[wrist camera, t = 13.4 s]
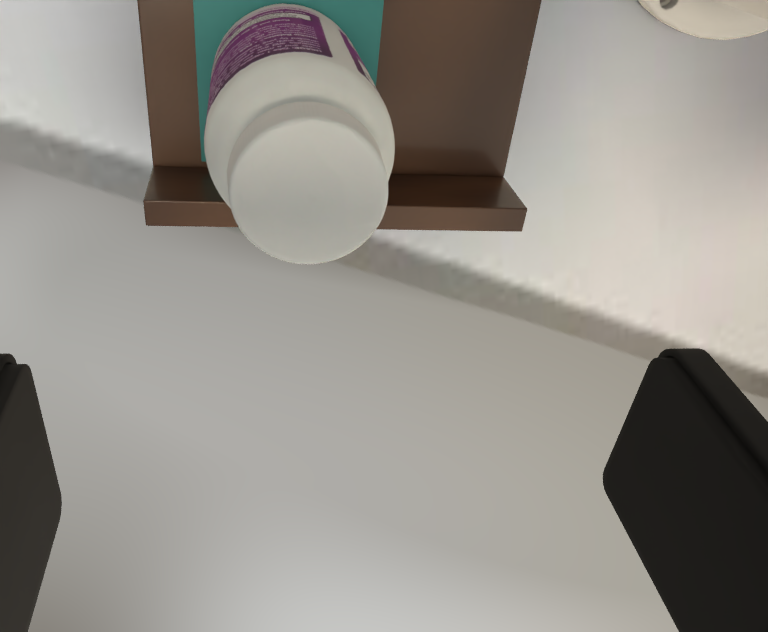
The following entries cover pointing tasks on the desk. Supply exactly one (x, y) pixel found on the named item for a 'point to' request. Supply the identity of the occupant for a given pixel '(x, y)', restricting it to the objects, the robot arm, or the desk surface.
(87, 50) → the desk surface
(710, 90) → the desk surface
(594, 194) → the desk surface
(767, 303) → the desk surface
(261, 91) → the pill bottle
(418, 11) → the shelf
